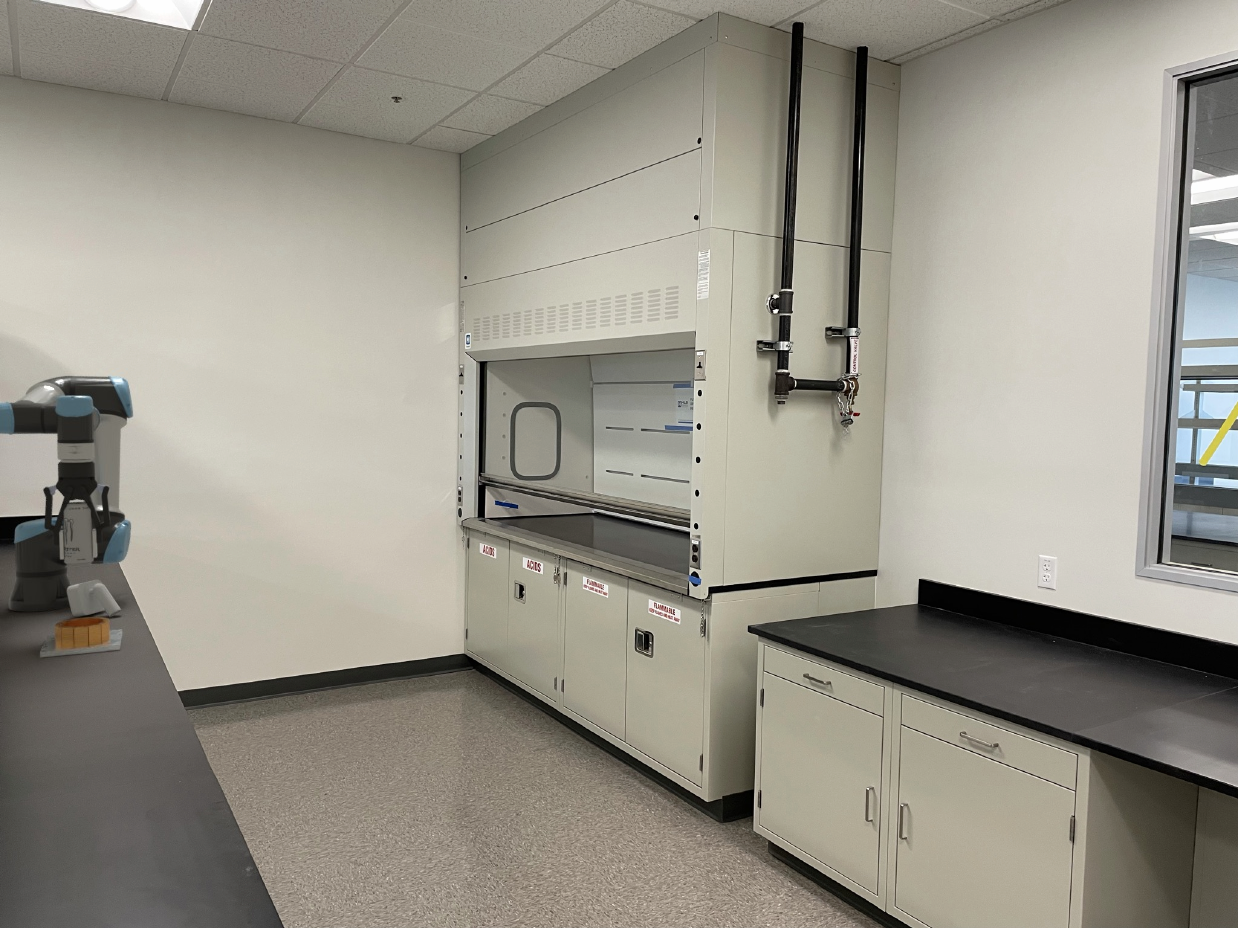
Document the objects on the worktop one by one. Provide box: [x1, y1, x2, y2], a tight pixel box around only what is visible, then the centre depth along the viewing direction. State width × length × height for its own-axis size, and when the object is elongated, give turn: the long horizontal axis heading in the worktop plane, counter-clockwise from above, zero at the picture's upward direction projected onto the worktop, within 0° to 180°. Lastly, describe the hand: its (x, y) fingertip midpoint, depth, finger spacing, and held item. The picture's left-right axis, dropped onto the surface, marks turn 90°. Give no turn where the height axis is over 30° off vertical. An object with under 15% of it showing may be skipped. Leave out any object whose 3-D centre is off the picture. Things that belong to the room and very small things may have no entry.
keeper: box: [39, 616, 123, 658], centre depth 204 cm, size 15×15×5 cm
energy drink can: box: [63, 501, 94, 568], centre depth 216 cm, size 6×6×15 cm
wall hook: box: [67, 579, 122, 618], centre depth 233 cm, size 8×10×10 cm
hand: (78, 557), depth 216 cm, fingers closed on energy drink can, 6 cm apart
